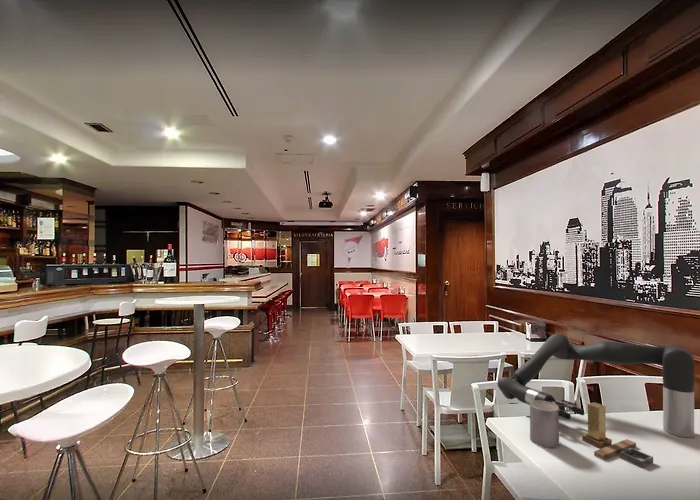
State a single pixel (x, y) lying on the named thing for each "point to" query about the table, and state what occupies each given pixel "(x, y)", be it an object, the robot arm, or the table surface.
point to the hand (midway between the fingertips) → (577, 414)
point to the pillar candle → (544, 423)
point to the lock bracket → (619, 451)
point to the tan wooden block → (597, 422)
